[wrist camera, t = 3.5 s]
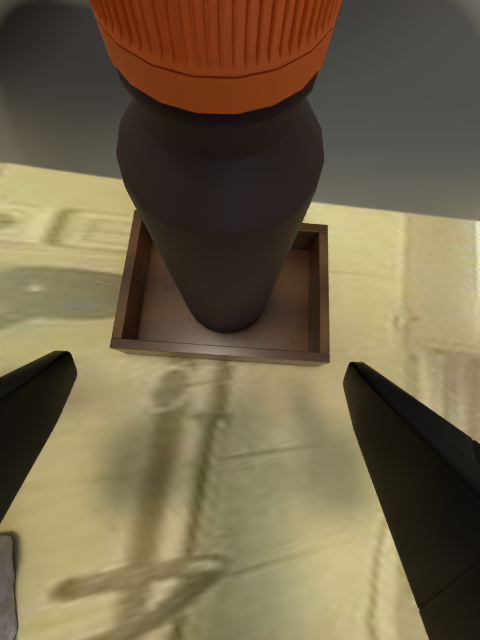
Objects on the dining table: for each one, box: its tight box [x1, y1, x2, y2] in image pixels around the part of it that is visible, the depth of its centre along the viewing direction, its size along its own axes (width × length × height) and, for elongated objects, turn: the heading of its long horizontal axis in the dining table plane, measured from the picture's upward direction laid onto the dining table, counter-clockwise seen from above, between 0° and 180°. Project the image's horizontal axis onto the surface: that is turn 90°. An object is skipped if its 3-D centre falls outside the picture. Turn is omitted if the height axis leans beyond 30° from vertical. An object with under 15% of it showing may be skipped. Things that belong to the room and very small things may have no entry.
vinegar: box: [89, 0, 342, 333], centre depth 14 cm, size 7×7×20 cm
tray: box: [110, 210, 330, 367], centre depth 22 cm, size 11×15×3 cm
